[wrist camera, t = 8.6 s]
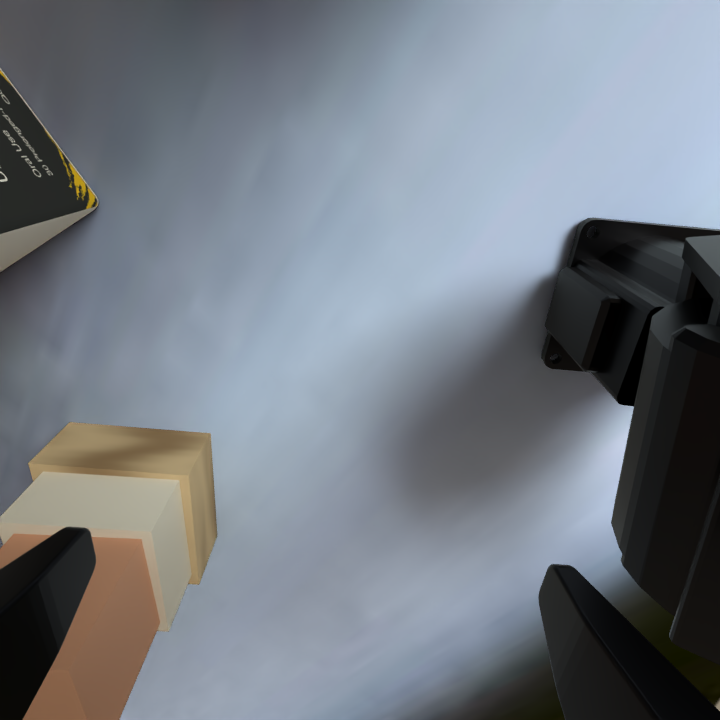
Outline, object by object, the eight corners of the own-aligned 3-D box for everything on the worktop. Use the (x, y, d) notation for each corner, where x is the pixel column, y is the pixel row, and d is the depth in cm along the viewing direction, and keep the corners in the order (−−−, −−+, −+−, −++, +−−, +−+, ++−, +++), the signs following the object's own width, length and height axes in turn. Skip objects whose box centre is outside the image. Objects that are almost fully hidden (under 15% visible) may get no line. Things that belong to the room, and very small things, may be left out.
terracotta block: (141, 538, 19) (68, 670, 14) (160, 622, 21) (102, 759, 16) (13, 533, 19) (-100, 662, 14) (46, 617, 21) (-44, 752, 16)
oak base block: (212, 430, 24) (188, 475, 21) (218, 531, 27) (199, 584, 24) (72, 419, 24) (28, 463, 21) (95, 522, 27) (59, 574, 24)
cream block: (179, 480, 21) (151, 531, 18) (191, 574, 24) (168, 631, 21) (43, 471, 21) (-6, 522, 18) (70, 567, 24) (32, 623, 21)
